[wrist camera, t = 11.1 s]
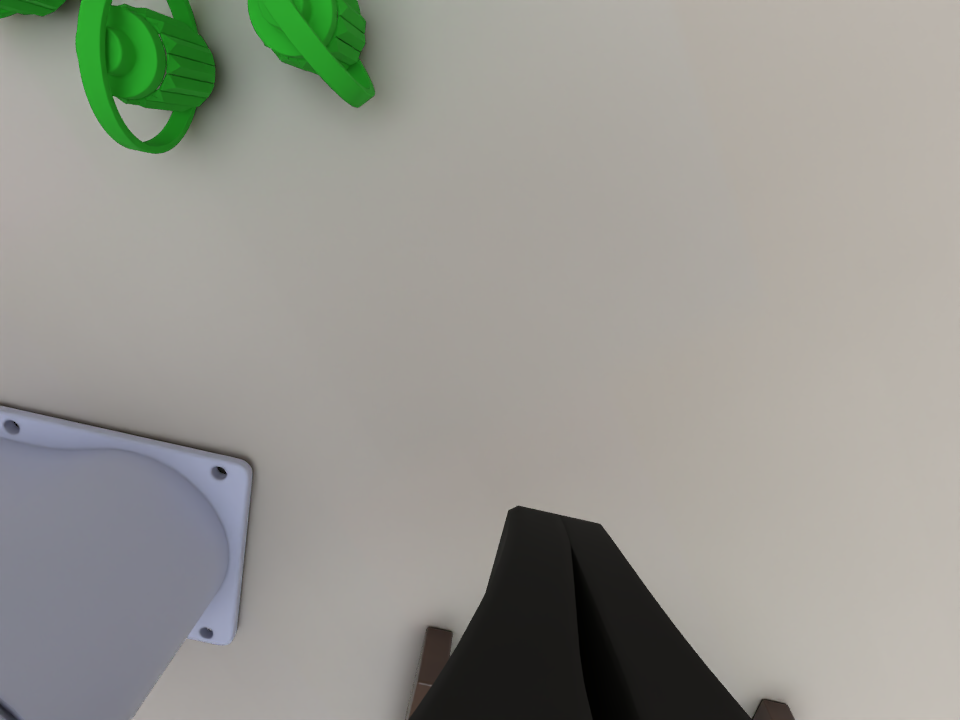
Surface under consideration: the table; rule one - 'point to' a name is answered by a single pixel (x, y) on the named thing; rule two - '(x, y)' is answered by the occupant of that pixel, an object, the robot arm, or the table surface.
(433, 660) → the bay
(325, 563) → the table surface
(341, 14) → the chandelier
